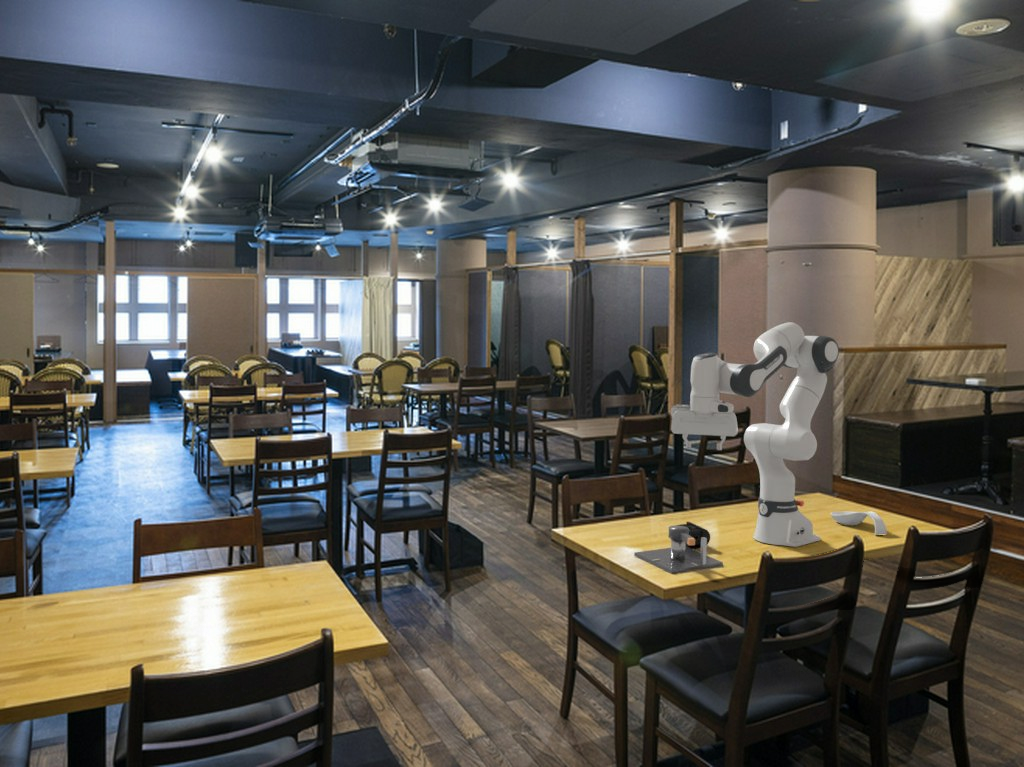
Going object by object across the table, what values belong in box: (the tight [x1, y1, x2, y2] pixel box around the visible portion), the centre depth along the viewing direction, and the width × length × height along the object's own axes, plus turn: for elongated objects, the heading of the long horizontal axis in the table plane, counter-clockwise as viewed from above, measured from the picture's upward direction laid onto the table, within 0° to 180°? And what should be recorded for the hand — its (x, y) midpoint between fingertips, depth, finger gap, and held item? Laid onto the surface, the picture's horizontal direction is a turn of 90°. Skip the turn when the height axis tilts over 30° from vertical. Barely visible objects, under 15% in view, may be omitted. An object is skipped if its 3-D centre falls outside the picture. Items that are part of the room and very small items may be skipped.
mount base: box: [633, 537, 724, 574], centre depth 245 cm, size 19×19×9 cm
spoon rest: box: [830, 510, 888, 536], centre depth 288 cm, size 24×12×7 cm, turn 16°
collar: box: [668, 524, 695, 545], centre depth 241 cm, size 14×6×3 cm, turn 10°
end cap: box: [677, 521, 711, 550], centre depth 263 cm, size 10×7×7 cm
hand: (703, 448), depth 252 cm, fingers open, 8 cm apart
